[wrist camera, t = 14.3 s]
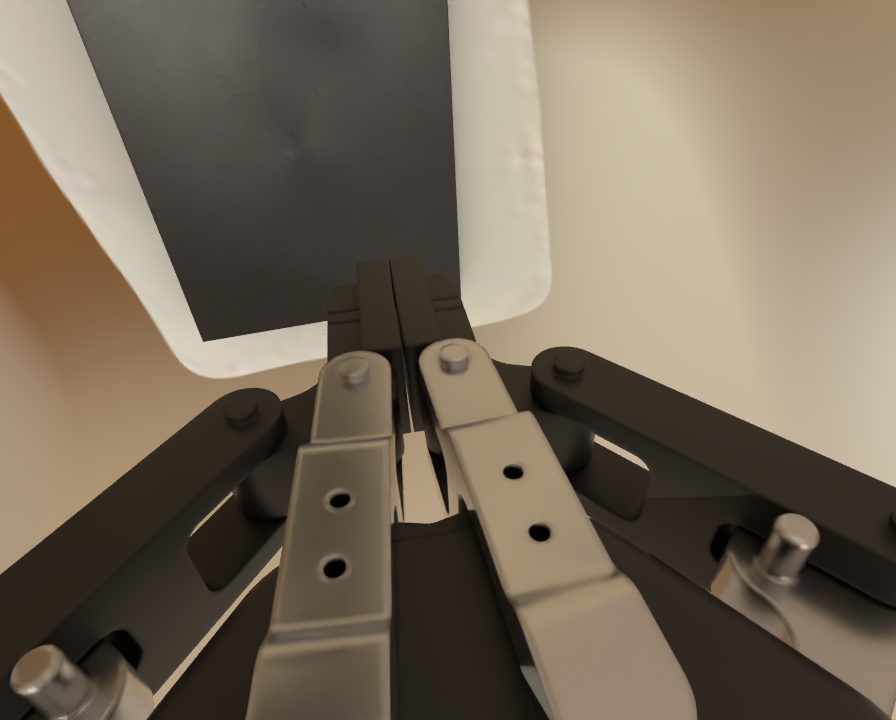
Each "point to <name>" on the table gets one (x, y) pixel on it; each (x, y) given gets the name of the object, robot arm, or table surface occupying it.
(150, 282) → the table surface
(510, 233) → the table surface
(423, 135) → the laptop screen
